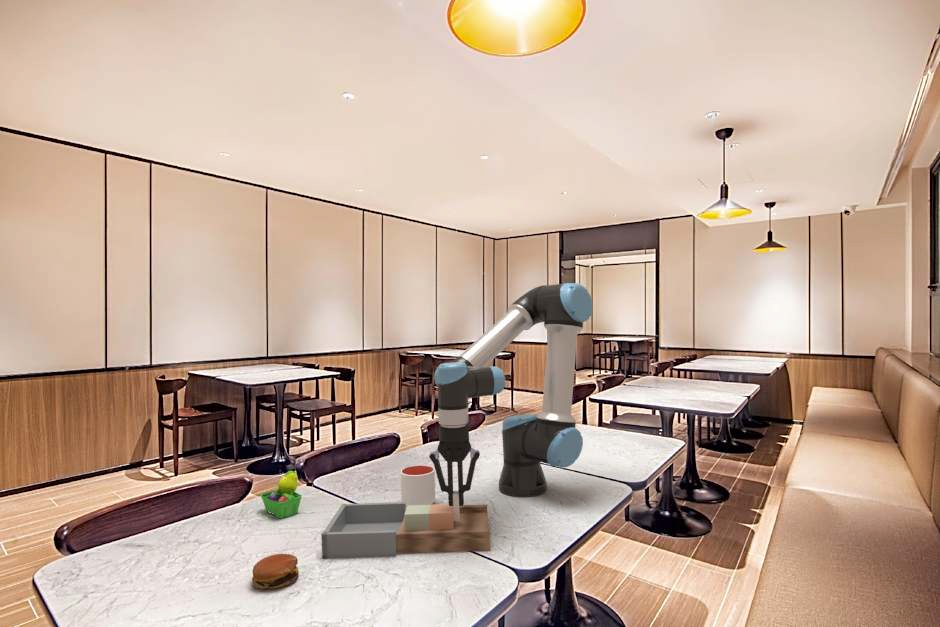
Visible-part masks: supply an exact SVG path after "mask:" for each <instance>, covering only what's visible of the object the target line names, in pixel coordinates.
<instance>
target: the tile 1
mask: <svg viewBox="0 0 940 627" xmlns="http://www.w3.org/2000/svg"><path fill="white" fill-rule="evenodd" d="M429 510H430V505H407V508H406V511H405V514H404V518H405V531H415V530H429Z"/></svg>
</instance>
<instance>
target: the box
mask: <svg viewBox="0 0 940 627" xmlns="http://www.w3.org/2000/svg"><path fill="white" fill-rule="evenodd" d="M405 507H406V502H402V501H397V502H394V501H393V502H390V501H389V502H366V503H365V502H362V503H359V502H358V503H342V504H341V505H340V506H339V507H338V510H337V511H336V512H335V514H334V515H333V517H332V519H331V520H330V521H329V523H328V524H327V526H326V527H325V529H324V530H323V532H322V533H321V558H322V559H334V558H335V559H337V558H341V559H343V558H370V557H371V558H372V557H397V555H398V554H397V545H396V534H397V532H399V531H400V528H401V525H402V522H403V519H404V514H405Z"/></svg>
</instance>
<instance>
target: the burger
mask: <svg viewBox="0 0 940 627" xmlns="http://www.w3.org/2000/svg"><path fill="white" fill-rule="evenodd" d="M298 562H299V561H298V557H297V556H295V555H293V554H290V553H277V554H276V553H275V554H272V555H268V556H266V557H264V558H262V559H260V560H259V561H257V562H256V563H255V564H254V566H253V568H252V577H251V580H252V586H253V587H254V588H256V589H267V590H268V589H271V590H274V589H275V590H276V589H278V588H282V587H285V586H288V585H290V584H291V583H293V582H294V581H295V580H296V579H298V578H299V574H300V572H299V568H298Z"/></svg>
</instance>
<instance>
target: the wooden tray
mask: <svg viewBox="0 0 940 627" xmlns="http://www.w3.org/2000/svg"><path fill="white" fill-rule="evenodd" d="M406 508H407V507H405V511H406ZM488 511H489V510H488V504H467V505H464V504H463V506H459V512H460V520H459V521H454V529H446V530H415V531H405V518H404V519H403V522H402V525H401V528H400V531H399V532H397V534H396V545H397V555H398V554H424V553H425V554H426V553H427V554H428V553H429V554H430V553H433V554H434V553H457V552H458V553H461V552H463V553H464V552H488V551H489V552H490V551H491V533H490V532H491V531H490V523H489V514H488V513H489V512H488Z"/></svg>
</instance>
